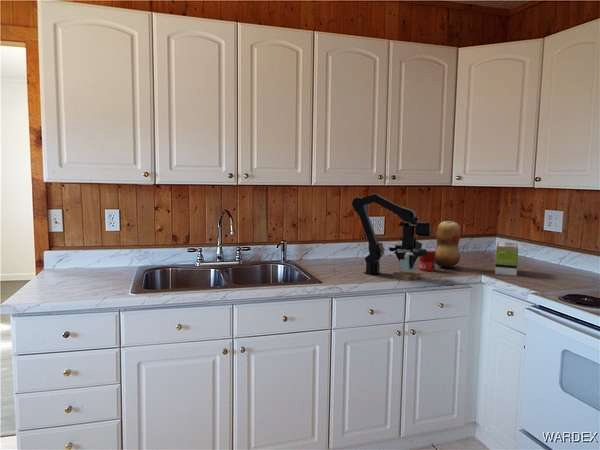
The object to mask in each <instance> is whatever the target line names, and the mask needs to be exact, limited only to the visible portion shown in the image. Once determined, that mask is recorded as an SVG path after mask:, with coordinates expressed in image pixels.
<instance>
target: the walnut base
mask: <svg viewBox="0 0 600 450" xmlns="http://www.w3.org/2000/svg"><path fill="white" fill-rule="evenodd" d="M392 277H393V278H397V279H402V280H404V281H412V280H417V279H421V273H419V272H414V271H403V270H399V271H396V272H393V275H392Z"/></svg>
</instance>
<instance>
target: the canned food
mask: <svg viewBox="0 0 600 450" xmlns="http://www.w3.org/2000/svg"><path fill="white" fill-rule="evenodd" d="M421 249H426V250H427V255H425V256H419V257H418V258H419V259H418V263H419V264H418V269H419V270H420V271H421V272H429V273H430V272H435V270H436V263H435V257H436V250H435V248H429V247H426V248H425V247H423V248H421Z"/></svg>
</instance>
